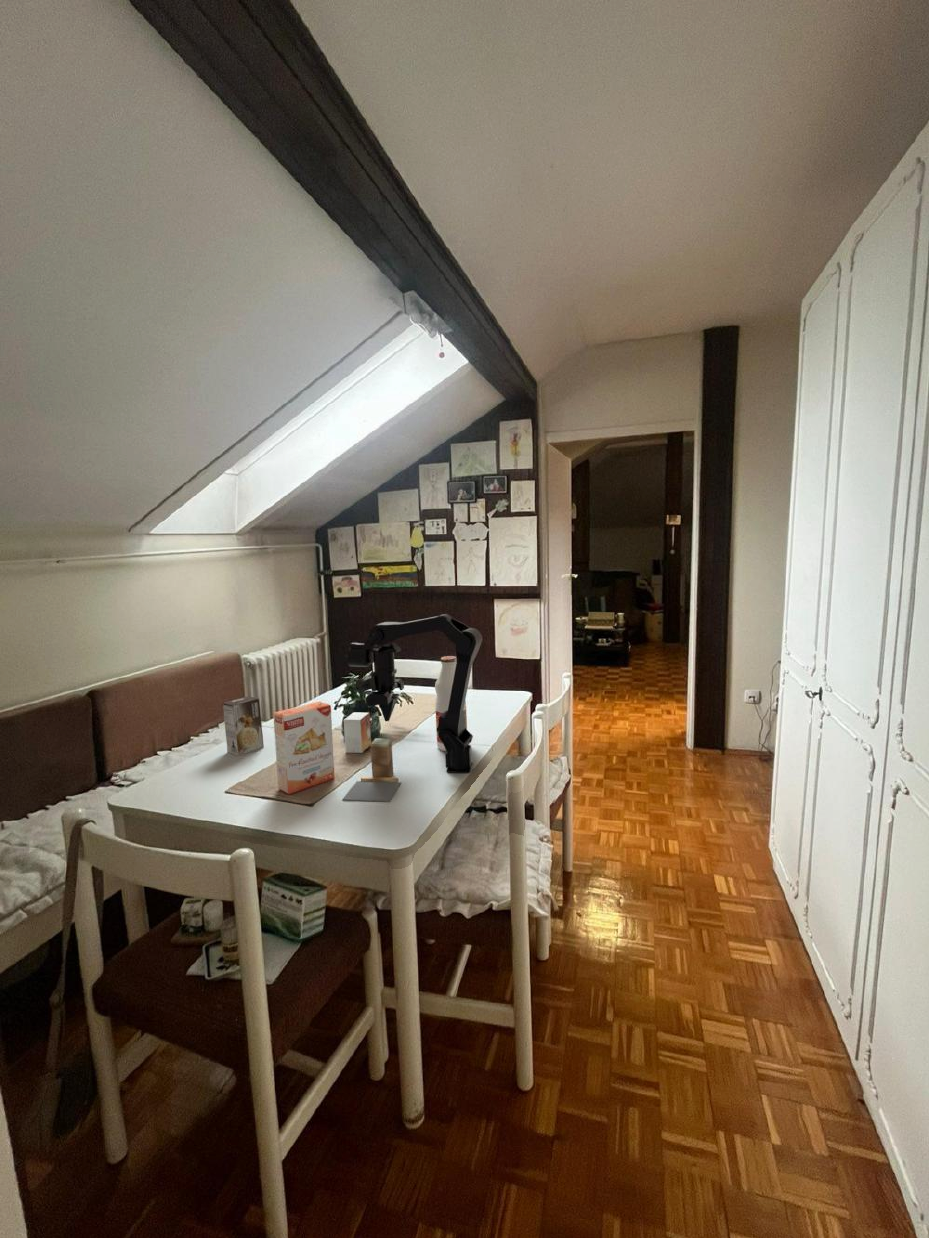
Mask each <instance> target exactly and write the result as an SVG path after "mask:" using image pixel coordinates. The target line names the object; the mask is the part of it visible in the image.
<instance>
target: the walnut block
mask: <svg viewBox="0 0 929 1238" xmlns="http://www.w3.org/2000/svg"><path fill="white" fill-rule="evenodd" d="M392 741H393V740H392V738H374V739H373V741H371V744H370V757H371V774H372V776H371V777H387V778H393V775H394V763H393V762H394V761H393V760H394V759H393V745H392V743H393V742H392Z"/></svg>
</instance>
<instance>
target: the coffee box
mask: <svg viewBox="0 0 929 1238" xmlns="http://www.w3.org/2000/svg"><path fill="white" fill-rule="evenodd" d="M260 705H261V704H260V698H258V697H252V696H248V695H247V696H243V697H240V698H235V699H232V700H229V701H224V702H222V711H223V721H224V722H223V723H224V732H225V740H226V748H227V750H226V751H227V753H229V754H231V755H235V756H238V757H239V756H242V755H245V754H248V753H250V752H254V751H256V750H259V749H262V748H264V747H265V744H264V735H263V734H264V733H263V724H262V717H261V716H262V715H261V706H260Z"/></svg>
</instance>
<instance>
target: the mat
mask: <svg viewBox="0 0 929 1238" xmlns="http://www.w3.org/2000/svg"><path fill="white" fill-rule="evenodd" d="M401 783H402V782H401V781H398V782H370V781H361V780H360V781H359V780H356V781H355V783H354V784H353V785H352V787H351V788H350V789H349V791H348V792H346V794H345V795H344V797H343V798H342V800H341V801H348V802H349V801H350V802H351V801H352V802H353V801H354V802H379V803H380V802H383V803H384V802H385V803H390V802H391V800H392V798H393V797H394V795H395V794H396V792H397V791H398V789H399V787H400V786H401Z"/></svg>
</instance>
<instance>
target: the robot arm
mask: <svg viewBox="0 0 929 1238" xmlns="http://www.w3.org/2000/svg"><path fill="white" fill-rule="evenodd" d="M435 631H439V632H442V634H443V635H444V636H445V637H446V638H447V639H448V640H449V641H450V642H452V643H453V644H454V646H455V647H454V652H455V653H454V654H455V657H456V660H457V663H456V669H455V674H454V679H453V684H452V690H451V695H450V700H449V706H448V710H447V711H445V712H444V713H443V714H442V715H441V716H440V717H439V724H438V728H437V729H436V730H435V731H438V737H439V739H440V740H441V741H442V742H443V744H444V746H445V749H446V751H445V753H444V755H445V757H444V758H445V760H444V761H445V768H446V773H466V774H467V773H471V770H472V768H473V765H474V763H473V762H472V745H471V743H472V741H473V738H474V735H473V734H472V733H471V732H470V731H469V730H468V728H467V729H466V728H465V717H464V704H465V700H466V698H467V693H468V688H469V683H470V678H471V673H472V669H473V668H472V667H473V662H474V660H475V659H476V657H477V655H478V652H479V650H480V647H481V645H482V642H483V635H482V633H481V632H480V630H478V629H477V628H474V627H469V626H468V625H466V624H465V623H463V622H461V621H459V620H457V619H455V618H454V617H453V616H451V615H450V614H448V613H444V614H440V615H437V616H431V617H427V618H422V619H416V620H411V621H406V622H405V621H404V622H401V621H400V622H399V621H384V622H380V623H378V624H375V625H373V626H371V627H370V629H369V633H368V634H369V635H368V637H367V639H366V640H365V641H364V643H363V642H362V643H361V642H360V643H359V642H352V643H349V649H348V651H347V652H346V653H347V654H346V663H347V666H349V667H357V668H361V667H362V668H364V667H365V668H370V667H371V666H372V664H373V668H374V669H373V670H374V671H372V673H371V675H370V676H368V677H365V678H359V679H357V680H355V682H354V684H353V686H354V688H353V689H354V691H356V692H357V693H358V695H360V694H363V692H368V691H369V690H371V692H370V693H368V694H367V695H366V696H365V705H366V706H379V708H380V710H381V713H382V716H383V718H384V721H385V722H389V721H390V720H391V717H392V714H393V712H394V709H395V706H396V703H397V701H398V699H399V696H400V694H399V693H395V691H394V690H395V689H399V691H403V690H404V689H405V682H404V680H402V679H401V678H396V674H397V672H398V671H397V670H398V669H397V668H395V653H398V652H400V651H401V650H402V649H401V647H400V646H398V645H397V644H396V642H393V641H395V640H397V639H400V638H404V637H408V636H413V635H419V634H425V633H431V632H435ZM390 642H393V643H391V644H390V645H384V644H388V643H390ZM377 646H379V648H378V647H377ZM375 647H377V648H375Z"/></svg>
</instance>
